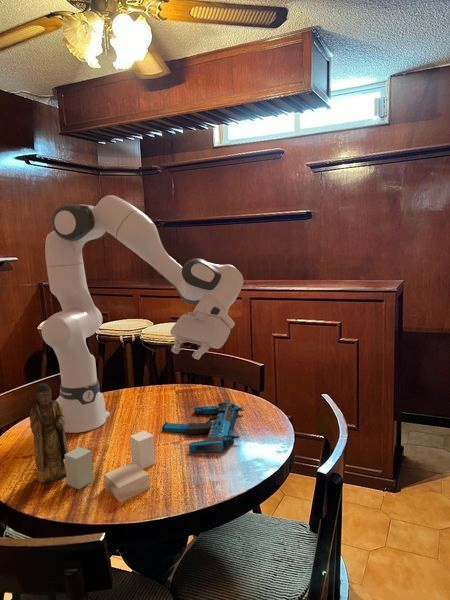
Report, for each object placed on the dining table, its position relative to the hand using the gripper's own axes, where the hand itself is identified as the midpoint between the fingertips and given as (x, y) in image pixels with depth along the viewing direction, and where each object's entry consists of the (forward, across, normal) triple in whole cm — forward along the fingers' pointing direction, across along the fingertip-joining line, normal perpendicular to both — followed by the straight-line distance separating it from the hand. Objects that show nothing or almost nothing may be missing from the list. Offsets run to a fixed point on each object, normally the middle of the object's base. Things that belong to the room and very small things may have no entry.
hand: (184, 355), depth 119 cm
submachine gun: (+11, -9, +29) cm, 32 cm away
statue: (+43, -14, -4) cm, 46 cm away
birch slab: (+36, +4, +4) cm, 36 cm away
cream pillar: (+29, -3, +10) cm, 31 cm away
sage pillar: (+40, -7, -2) cm, 41 cm away
